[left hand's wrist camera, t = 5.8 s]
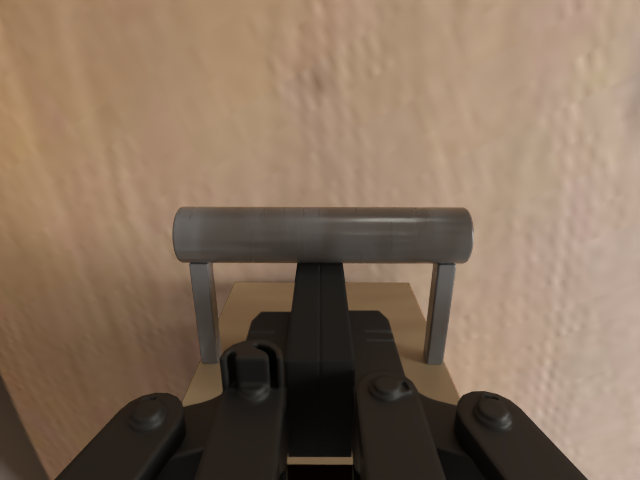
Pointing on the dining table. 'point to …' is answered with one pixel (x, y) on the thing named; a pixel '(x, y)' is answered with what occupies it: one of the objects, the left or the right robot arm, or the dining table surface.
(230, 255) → the drawer
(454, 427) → the left robot arm
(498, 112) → the dining table surface
